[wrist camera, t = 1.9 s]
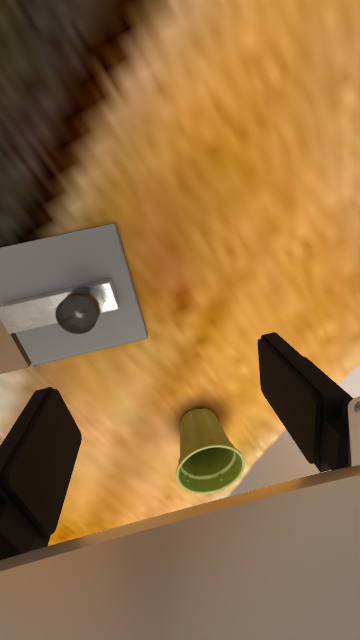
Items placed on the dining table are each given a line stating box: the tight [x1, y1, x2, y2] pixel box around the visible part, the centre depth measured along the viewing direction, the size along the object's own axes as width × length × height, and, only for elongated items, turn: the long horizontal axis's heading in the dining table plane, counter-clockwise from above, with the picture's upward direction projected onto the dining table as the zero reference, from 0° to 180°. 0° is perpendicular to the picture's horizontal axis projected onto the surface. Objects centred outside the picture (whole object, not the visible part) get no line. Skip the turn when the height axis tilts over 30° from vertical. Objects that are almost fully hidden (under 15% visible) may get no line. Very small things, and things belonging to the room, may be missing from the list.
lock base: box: [0, 223, 148, 374], centre depth 27 cm, size 14×30×2 cm, turn 101°
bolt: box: [0, 279, 119, 334], centre depth 24 cm, size 4×12×6 cm, turn 101°
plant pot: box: [176, 408, 245, 494], centre depth 35 cm, size 9×9×9 cm
